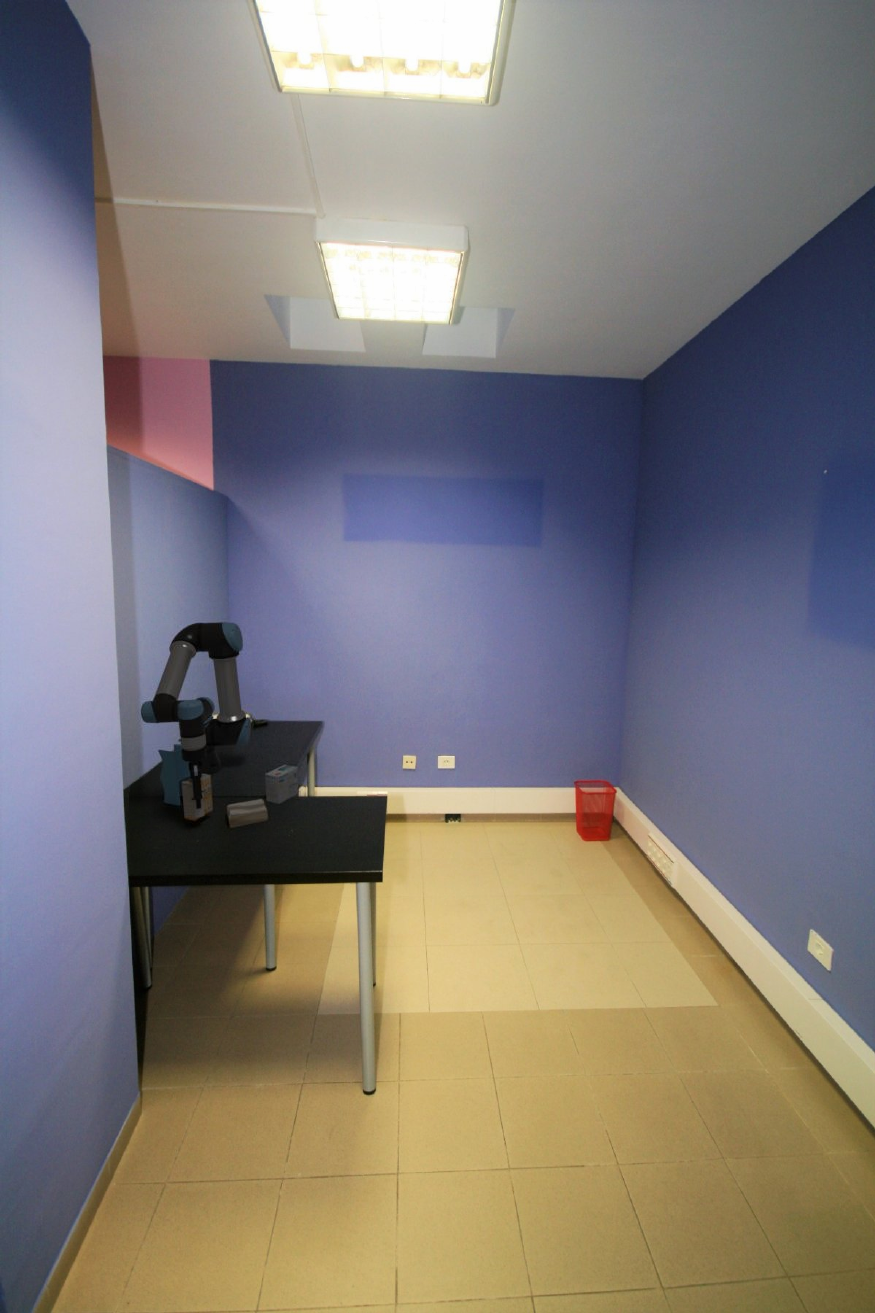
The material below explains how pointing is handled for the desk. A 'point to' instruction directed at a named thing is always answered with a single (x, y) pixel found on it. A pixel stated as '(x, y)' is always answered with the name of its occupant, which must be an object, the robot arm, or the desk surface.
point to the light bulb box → (281, 784)
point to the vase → (173, 774)
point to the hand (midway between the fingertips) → (198, 810)
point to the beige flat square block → (247, 813)
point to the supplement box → (188, 794)
